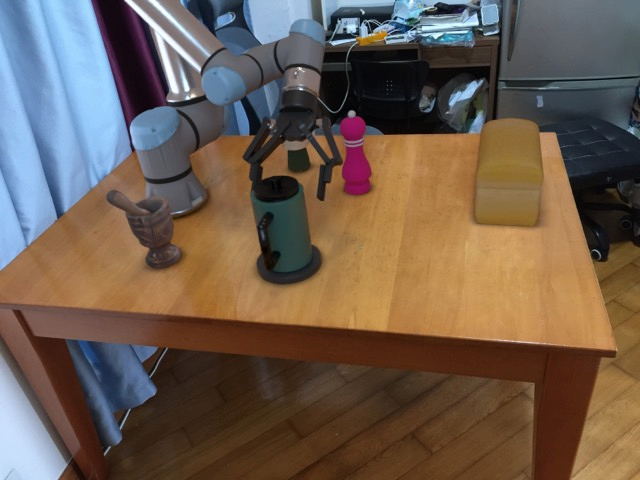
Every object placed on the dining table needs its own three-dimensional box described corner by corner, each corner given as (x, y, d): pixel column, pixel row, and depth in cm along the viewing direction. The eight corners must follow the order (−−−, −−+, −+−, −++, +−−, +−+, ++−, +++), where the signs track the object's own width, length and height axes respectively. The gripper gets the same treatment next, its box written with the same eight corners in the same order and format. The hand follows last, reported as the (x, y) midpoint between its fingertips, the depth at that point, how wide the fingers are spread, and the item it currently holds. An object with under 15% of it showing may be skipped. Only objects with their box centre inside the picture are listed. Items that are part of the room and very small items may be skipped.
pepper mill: (376, 183, 135) (372, 105, 124) (366, 197, 130) (360, 117, 119) (349, 180, 138) (342, 104, 127) (338, 194, 133) (330, 115, 122)
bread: (478, 171, 135) (481, 113, 126) (534, 173, 131) (541, 113, 123) (472, 223, 115) (475, 158, 107) (537, 227, 112) (546, 160, 103)
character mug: (321, 162, 149) (316, 116, 142) (316, 174, 143) (311, 127, 136) (283, 163, 151) (276, 118, 144) (277, 174, 146) (269, 128, 139)
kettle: (280, 230, 118) (267, 155, 108) (324, 233, 115) (315, 156, 106) (246, 284, 103) (227, 203, 94) (296, 289, 100) (282, 205, 91)
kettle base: (271, 244, 117) (269, 238, 117) (328, 248, 114) (328, 242, 113) (247, 281, 107) (246, 275, 106) (310, 287, 103) (309, 281, 102)
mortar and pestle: (169, 280, 110) (140, 193, 99) (130, 280, 112) (97, 194, 101) (189, 248, 120) (165, 165, 109) (152, 248, 121) (125, 167, 111)
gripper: (235, 89, 110) (220, 190, 106) (356, 85, 102) (344, 194, 99) (250, 105, 117) (236, 200, 113) (364, 103, 109) (353, 205, 106)
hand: (286, 198), depth 106 cm, fingers open, 13 cm apart
